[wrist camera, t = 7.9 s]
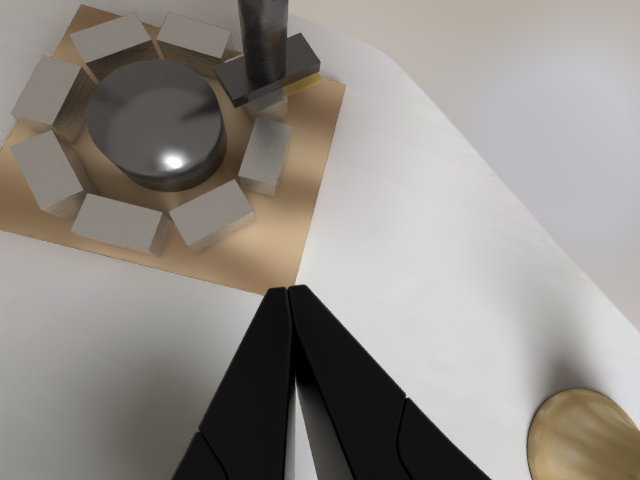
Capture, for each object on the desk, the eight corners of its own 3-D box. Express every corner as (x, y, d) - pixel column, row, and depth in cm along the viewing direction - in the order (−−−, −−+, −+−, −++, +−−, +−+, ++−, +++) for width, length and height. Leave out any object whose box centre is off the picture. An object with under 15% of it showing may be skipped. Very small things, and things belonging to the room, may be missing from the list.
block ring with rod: (362, 163, 22) (446, 18, 11) (105, 301, 18) (-147, 279, 7) (254, 0, 24) (237, -259, 13) (-1, 91, 20) (-328, -174, 9)
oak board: (289, 301, 21) (290, 300, 19) (-22, 224, 19) (-42, 217, 18) (343, 91, 25) (347, 79, 24) (90, 15, 23) (79, -3, 22)
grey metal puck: (207, 205, 20) (196, 186, 17) (94, 174, 20) (63, 150, 17) (240, 111, 22) (235, 80, 19) (137, 81, 22) (115, 44, 19)
